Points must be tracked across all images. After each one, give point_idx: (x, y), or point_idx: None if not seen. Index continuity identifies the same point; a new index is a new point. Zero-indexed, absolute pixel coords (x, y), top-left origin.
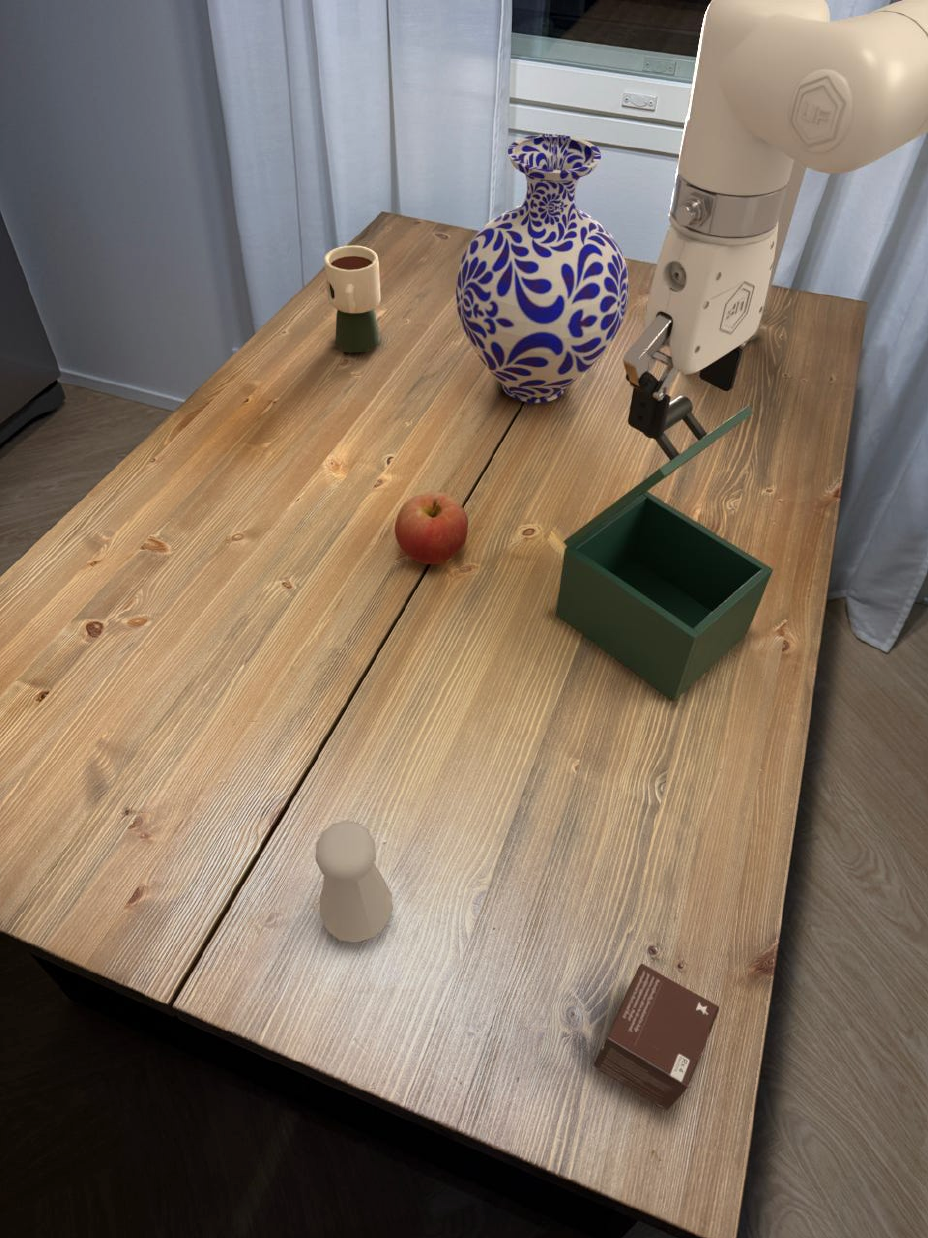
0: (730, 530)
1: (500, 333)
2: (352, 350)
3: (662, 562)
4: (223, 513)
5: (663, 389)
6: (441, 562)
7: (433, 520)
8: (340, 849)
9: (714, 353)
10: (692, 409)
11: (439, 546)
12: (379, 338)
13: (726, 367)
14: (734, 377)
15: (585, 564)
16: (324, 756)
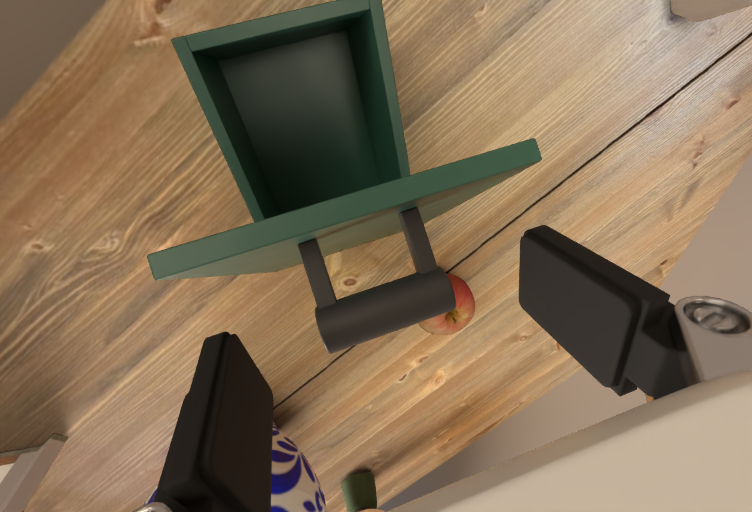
0: (133, 209)
1: (311, 492)
2: (368, 474)
3: (266, 187)
4: (517, 358)
5: (720, 329)
6: None
7: (460, 305)
8: None
9: (728, 504)
10: (316, 312)
11: (457, 282)
12: (343, 483)
13: (234, 408)
14: (203, 368)
15: None
16: (604, 143)
